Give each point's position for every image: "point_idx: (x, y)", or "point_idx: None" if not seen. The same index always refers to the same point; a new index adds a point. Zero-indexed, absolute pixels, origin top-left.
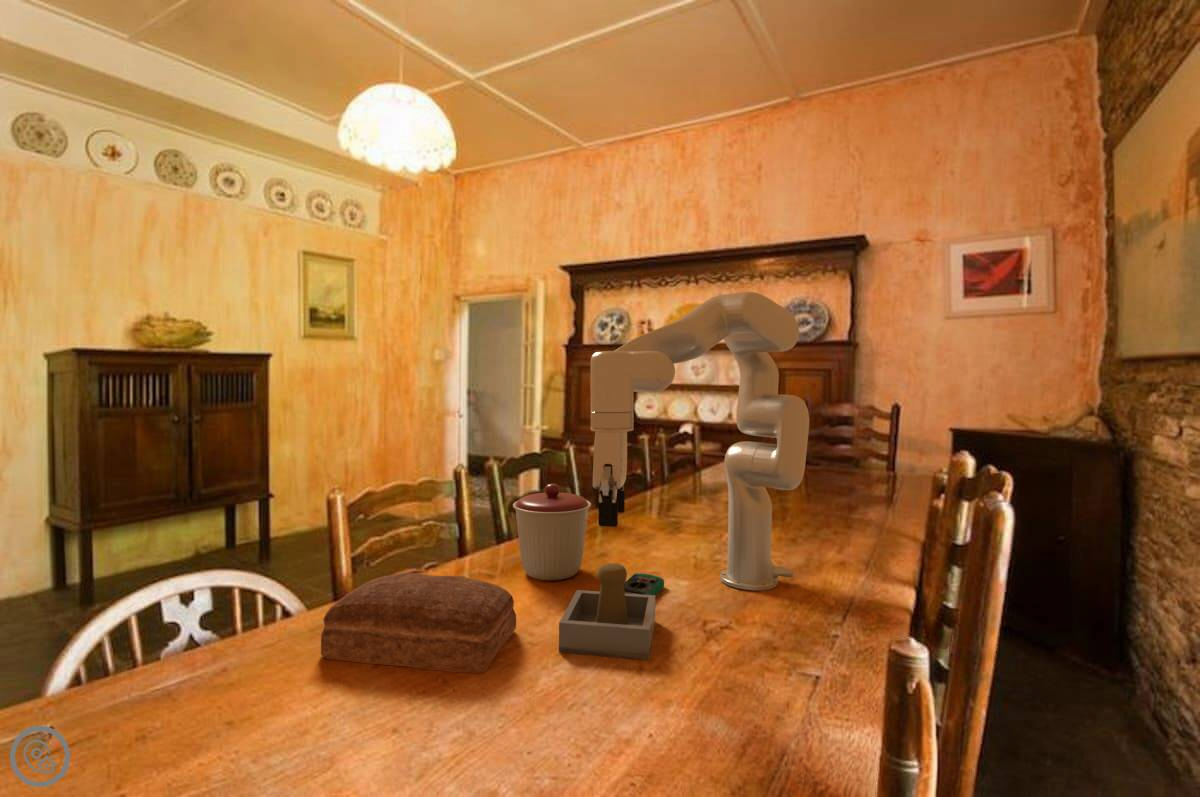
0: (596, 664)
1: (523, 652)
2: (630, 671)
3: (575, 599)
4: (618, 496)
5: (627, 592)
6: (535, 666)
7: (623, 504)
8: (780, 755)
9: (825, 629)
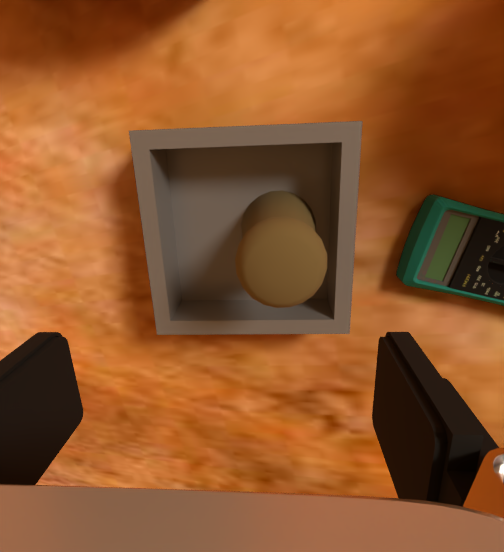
0: (130, 220)
1: (129, 49)
2: (126, 282)
3: (287, 135)
4: (410, 481)
5: (462, 241)
6: (82, 100)
7: (386, 460)
8: None
9: None
